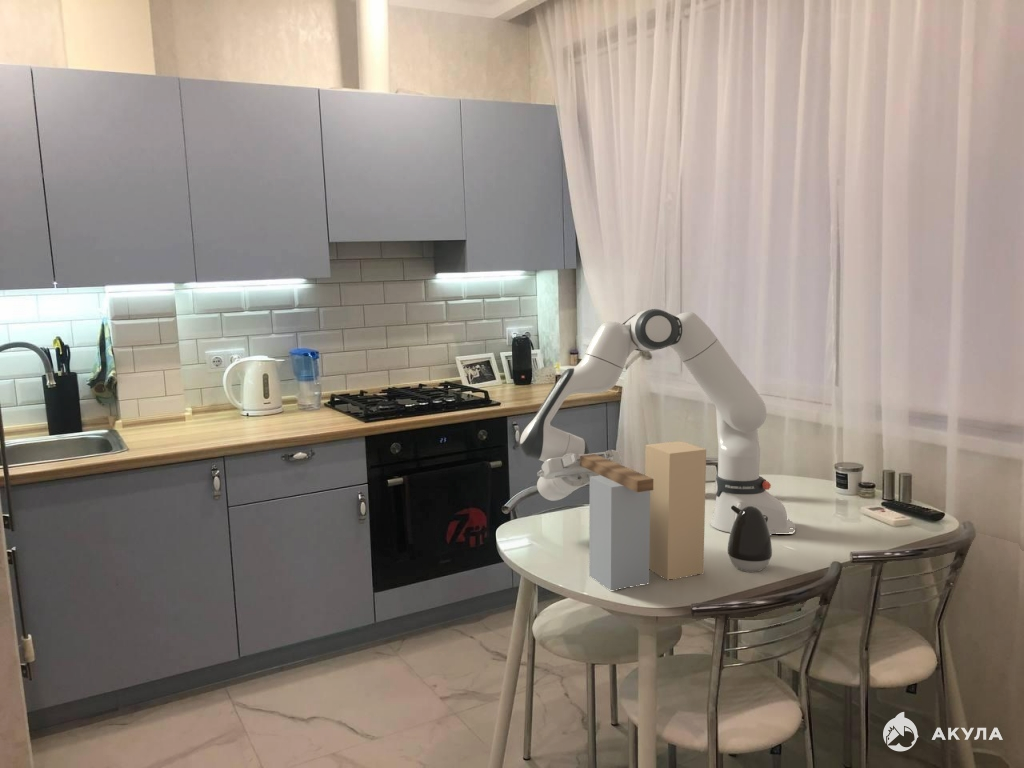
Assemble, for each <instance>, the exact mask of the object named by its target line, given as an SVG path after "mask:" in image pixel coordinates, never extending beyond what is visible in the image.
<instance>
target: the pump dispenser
mask: <svg viewBox="0 0 1024 768" xmlns="http://www.w3.org/2000/svg"><path fill="white" fill-rule="evenodd" d="M731 509H732V510H733V511H734V512H735V513H737V514H738V515H737V517H736V519H735V521H734V524H733V526H732V529H731V533H729V537H728V543H727V554H728V556H729V560H730V562H731V564H733V566H734V567H735V568H737V570H741V571H743V572H747V571H748V573H755V571H756V572H759V571H762V570H763V569H765V568H766V567H767V566H768V565H769V562H770V559H771V558H772V556H773V547H772V539H771V535H770V533H769V529H768V526H767V523H766V520H765V518H764V516H763V514H762V513H761V511H760V510H759V509H757V508H756V507H752V506H748V507H745V508H743V509H742V510H740V509H739V508H737V507H735V506H734V505H733V506H732V507H731Z"/></svg>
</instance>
